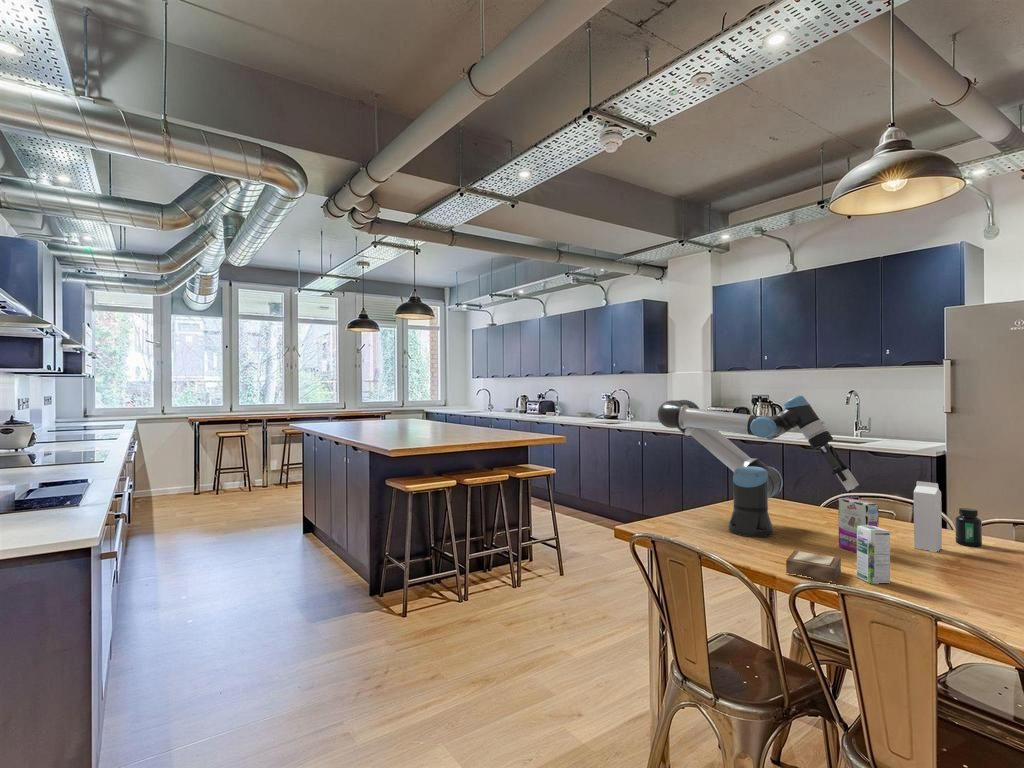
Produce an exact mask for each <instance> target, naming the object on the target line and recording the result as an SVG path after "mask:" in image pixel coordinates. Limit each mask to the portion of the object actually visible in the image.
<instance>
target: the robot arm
mask: <svg viewBox="0 0 1024 768" xmlns="http://www.w3.org/2000/svg"><path fill="white" fill-rule="evenodd" d="M783 406H784V409H783V410H781V411H779V412H778V413H776V414H774V415H768V416H763V415H755V414H754V415H753V414H745V413H736V412H728V411H720V410H719V411H718V410H711V409H709V410H708V409H702V408H700V407H699V406H698V404H696V403H695V402H693V401H691V400H687V399H680V400H675V399H674V400H667V401H665V402H663V403H661V404H660V406H659V407H658V410H657V419H658V421H659V423H660V424H661V425H662V426H664V427H665V428H668V429H678V430H679V431H680V433H682V434H683V435H684V436H691V437H692V438H693V439H695V440H696V441H697V442H698V443H699V444H700V445H701V446H703V447H704V448H705V449H706V450H708V452H710V453H711V454H712V455H713V456H714V457H715V458H717V459H718V460H719V461H720V462H721V463H722V464H723V465H725V466H726V467H727V468H729V470H731V471H732V472H733V476H732V482H733V483H732V485H733V486H732V487H733V488H732V490H733V495H732V498H733V510H732V513H731V516H730V519H729V522H728V531H729V532H731V533H732V534H735V535H739V536H745V537H751V538H753V537H754V538H768V537H772V536H773V535H774V526H773V523H772V521H771V518H770V515H769V511H768V510H769V504H768V503H769V499H771V498H773V497H775V496H777V495H778V494H779V493H780V492H781V490H782V489H783V486H784V479H783V477H782V475H781V473H780V472H779V471H778V469H776V468H774V467H772V466H769V465H766V464H765V463H763V461H761V460H760V459H759V458H753V457H752V458H751V457H750V456H749V455H748V454H747V453H746V452H744V451H743V450H741V448H739V447H738V446H737V445H736V444H735V443H733V442H732V441H731V439H730V440H729V439H728V438H727V437H726V436H725V435H723V433H721V432H726V433H733V434H739V435H740V434H741V435H746V436H748V435H749V436H754V437H757V438H762V439H767V440H769V441H773V440H775V439H776V438H780V436H781V435H783V434H786V433H787V432H790V431H791V430H792V429H795V428H797V427H798V428H799V430H800V431H801V434H802V435H803V436H804V438H805V439H807V442H808V443H809V445H810V447H811V448H812V449H818V448H819V451H820V453H821V454H822V455H823V457H824V459H825V460H826V462H827V464H828V465H829V467H830V469H831V471H832V472H831V474H832V475H833V476H835V475H836V477H837V478H838V480H839V481H840V483H841V484H842V485H843V487H844V488H845V490H846V492H849V491H851V490H854V489H855V488H857V487H858V486H860V484H859V482H858V481H857V479H856V478H855V477H854V475H853V474H852V472H851V471H850V470H849V469H850V465H847V464H846V463H845V461H844V460H843V459H842V458H841V457H840V455H839V454H838V452H837V451H836V449H835V447H834V446H833V445H832V444H829V443H831V442H832V441H833V440H834V438H833V435H831V433H830V432H829V431H828V430H826V429H827V428H826V426H825V422H824V421H823V420H822V421H821V419H820V418H819V416H818V415H817V413H816V412H815V410H814V409H813V407H812V405H811V403H809V402H808V400H807V399H806V398H805V397H804V395H796V396H794V397H791V398H790V399H788V400H786V401H785V402H783Z"/></svg>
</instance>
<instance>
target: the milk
mask: <svg viewBox="0 0 1024 768" xmlns="http://www.w3.org/2000/svg"><path fill="white" fill-rule="evenodd" d="M942 518H943V517H942V491H941V490H940V488H939V484H938V483H937V482H929V481H928V482H927V481H920V480H917V481H916V486H915V487H914V490H913V547H914V549H915V548H918V549H917V550H920V549H924V550H923V551H925V550H929V551H928V552H930V551H934V552H933V553H935V552H936V553H938V552H939V550H940V549H943V542H942V541H943V537H942V536H943V534H942V533H943V529H942V528H943V526H942V524H943V523H942ZM937 551H938V552H937ZM940 551H941V550H940Z"/></svg>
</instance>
